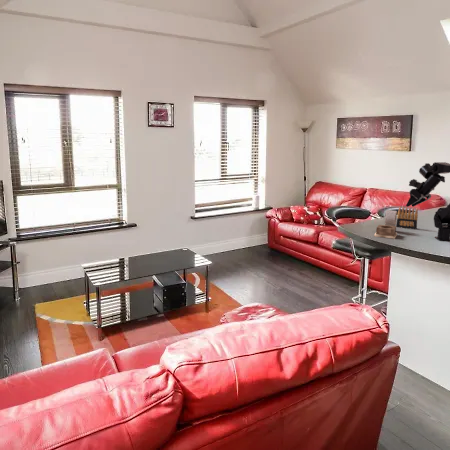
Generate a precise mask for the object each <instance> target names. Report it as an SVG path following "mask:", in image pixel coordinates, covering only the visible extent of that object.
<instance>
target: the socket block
mask: <svg viewBox="0 0 450 450" xmlns="http://www.w3.org/2000/svg"><path fill="white" fill-rule="evenodd" d="M397 236H398V232H397V227H396V226H388V225H385V224H378V225H377V227H376V232H375V233H374V236H373V237H376V238H377V237H378V238H386V239H396V237H397Z"/></svg>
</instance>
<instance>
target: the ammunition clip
mask: <svg viewBox="0 0 450 450" xmlns="http://www.w3.org/2000/svg"><path fill="white" fill-rule="evenodd" d="M411 208H412V209H411ZM418 210H419V209H418V207H416V209H415V206H414V207H413V206H412V207H407V206H405V207H404V206H402V207H401V206H399V207H398V211H397V216H396V228H401V227H402V228H403V229H410V228H411V229H413V230H417V227H418V218H419V213H418Z"/></svg>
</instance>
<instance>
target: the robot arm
mask: <svg viewBox="0 0 450 450" xmlns="http://www.w3.org/2000/svg"><path fill="white" fill-rule="evenodd" d="M418 172H419V174H420V175H421V176H422V177H423V178H424V179H425V180H424V181H422V182H420V181H418V180H417V179H415V178H413V179H410V180H409V184H408V186H409V187H413V188H411V189H410V190H409V198H408V201H407V202H406V205H405V207H407V208H409V207H411V206H412V208H413V207H414V208H415V207H416V206H418V205H420V204H422V203H424V202H427V201H428V200H430V199H431V198H432V194H431V192H432V191H435V189H436V187H437V186H438V185H439V184H440V183H441V182H442V183H445V182H446V177H445V176H444V175H443V174H450V163H448V162H446V161H445V162H437V161H436V162H433V163H432V165H431V164H430V163H424V165H422V166H421V167H420V168H419V170H418ZM434 213H435V214H434V215H433V225H434V227H435V228H436V229H437V236H434V238H435V239H436V240H438V241H442V242H443V241H444V242H445V241H446V242H450V203H448V205H446V207H439V208H438V209H437V211H435V212H434Z"/></svg>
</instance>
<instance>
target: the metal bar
mask: <svg viewBox="0 0 450 450" xmlns="http://www.w3.org/2000/svg"><path fill="white" fill-rule="evenodd" d="M397 216H398V211H397V210H389V209H387V210H386V211H385V217H384V225H388V226H396V224H397Z"/></svg>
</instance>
